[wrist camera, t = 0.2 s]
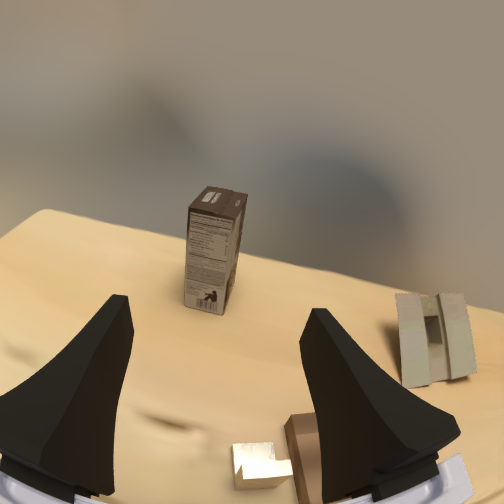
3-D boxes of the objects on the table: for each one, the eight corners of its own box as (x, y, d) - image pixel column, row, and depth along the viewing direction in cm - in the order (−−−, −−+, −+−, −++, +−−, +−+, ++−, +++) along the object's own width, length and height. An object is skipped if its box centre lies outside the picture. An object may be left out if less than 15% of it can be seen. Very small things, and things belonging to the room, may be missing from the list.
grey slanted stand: (452, 372, 39) (451, 296, 44) (479, 373, 31) (477, 286, 36) (379, 383, 40) (380, 298, 45) (401, 389, 32) (402, 288, 37)
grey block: (275, 487, 20) (293, 474, 17) (235, 490, 19) (243, 478, 16) (269, 446, 24) (283, 425, 21) (231, 448, 24) (238, 427, 21)
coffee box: (199, 273, 49) (207, 184, 41) (235, 281, 49) (249, 192, 41) (182, 306, 41) (186, 205, 33) (223, 316, 41) (238, 215, 33)
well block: (409, 516, 15) (426, 510, 14) (308, 552, 13) (320, 552, 12) (373, 412, 29) (385, 400, 27) (284, 425, 27) (291, 414, 25)
